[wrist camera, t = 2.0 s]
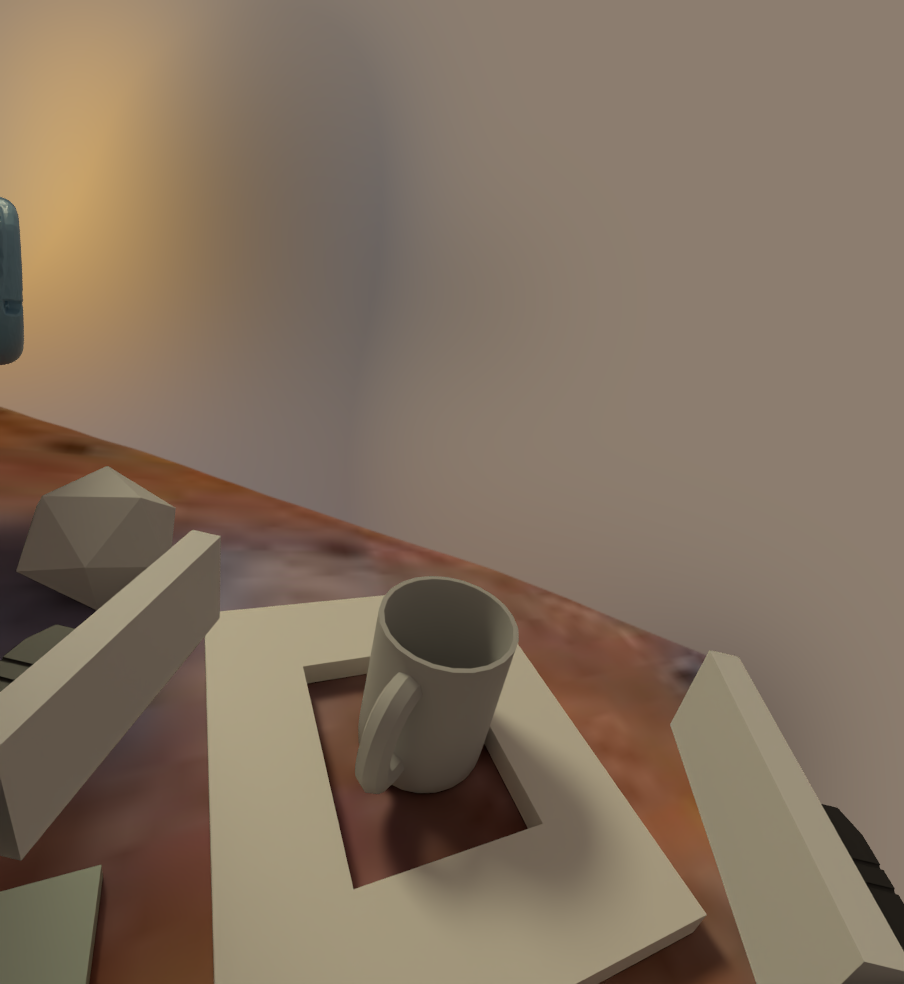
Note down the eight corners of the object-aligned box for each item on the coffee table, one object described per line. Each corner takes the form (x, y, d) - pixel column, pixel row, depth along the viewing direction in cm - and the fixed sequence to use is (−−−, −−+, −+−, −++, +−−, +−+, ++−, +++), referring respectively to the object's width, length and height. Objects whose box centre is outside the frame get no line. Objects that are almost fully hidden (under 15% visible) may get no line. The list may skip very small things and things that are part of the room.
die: (106, 543, 41) (-5, 469, 34) (208, 507, 41) (119, 425, 33) (87, 639, 36) (-49, 578, 29) (203, 600, 36) (97, 527, 28)
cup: (498, 728, 32) (537, 614, 28) (415, 877, 24) (455, 745, 20) (400, 672, 35) (424, 560, 31) (293, 790, 26) (308, 657, 22)
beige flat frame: (204, 631, 34) (204, 613, 34) (473, 600, 43) (477, 586, 43) (219, 1188, 15) (220, 1172, 15) (693, 932, 24) (706, 914, 24)
